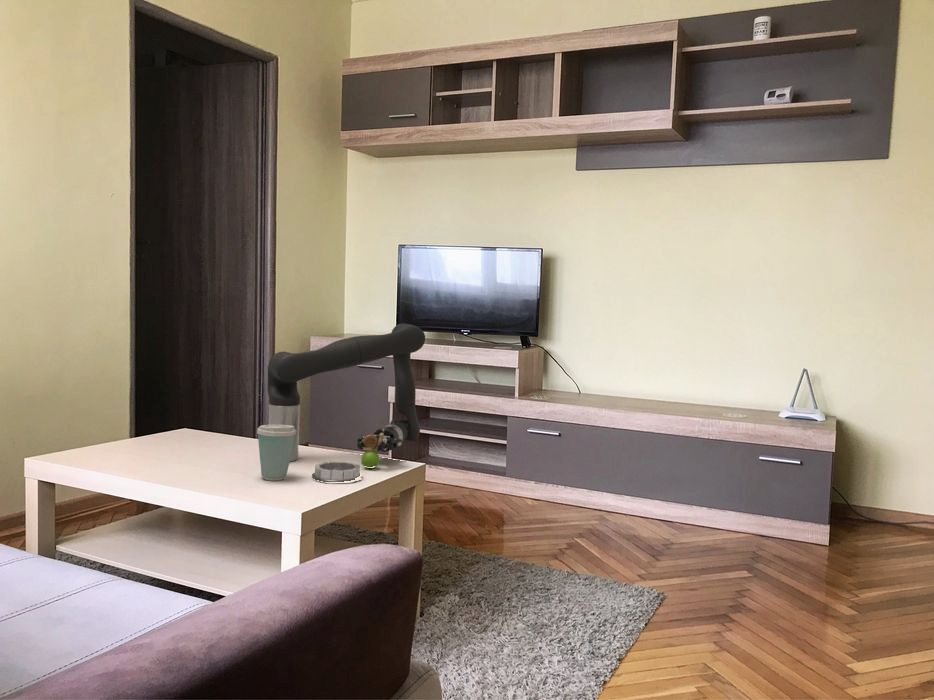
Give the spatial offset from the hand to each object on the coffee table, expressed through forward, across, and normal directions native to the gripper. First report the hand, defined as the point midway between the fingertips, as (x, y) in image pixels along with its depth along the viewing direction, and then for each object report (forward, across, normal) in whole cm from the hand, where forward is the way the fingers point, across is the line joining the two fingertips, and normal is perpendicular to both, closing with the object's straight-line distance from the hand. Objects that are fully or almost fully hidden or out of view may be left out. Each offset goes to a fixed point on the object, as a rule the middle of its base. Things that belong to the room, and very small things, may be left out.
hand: (369, 447), depth 222 cm
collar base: (+12, -5, +7) cm, 15 cm away
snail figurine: (-3, 0, +7) cm, 8 cm away
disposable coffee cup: (+20, -20, +7) cm, 29 cm away
